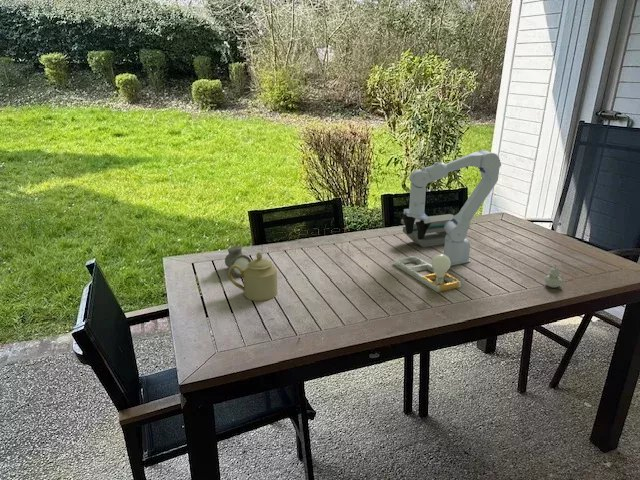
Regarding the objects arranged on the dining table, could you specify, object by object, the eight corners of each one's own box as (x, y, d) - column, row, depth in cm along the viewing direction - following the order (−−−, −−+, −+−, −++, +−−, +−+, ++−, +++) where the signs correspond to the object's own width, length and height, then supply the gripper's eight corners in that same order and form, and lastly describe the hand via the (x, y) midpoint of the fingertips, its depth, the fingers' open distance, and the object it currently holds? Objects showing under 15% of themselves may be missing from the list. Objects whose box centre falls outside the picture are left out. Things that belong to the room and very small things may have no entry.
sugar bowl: (241, 307, 140) (238, 263, 135) (228, 294, 149) (225, 252, 144) (283, 296, 148) (281, 253, 143) (269, 284, 157) (266, 244, 152)
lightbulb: (449, 288, 151) (452, 258, 148) (430, 287, 153) (432, 257, 149) (448, 281, 157) (450, 251, 154) (429, 279, 159) (432, 250, 155)
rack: (414, 260, 176) (415, 255, 176) (460, 287, 152) (461, 281, 152) (393, 264, 173) (393, 259, 172) (437, 292, 149) (437, 286, 148)
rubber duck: (539, 285, 153) (543, 264, 150) (550, 281, 156) (554, 260, 154) (555, 291, 148) (559, 269, 146) (566, 286, 152) (570, 264, 149)
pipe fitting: (254, 273, 165) (249, 247, 162) (234, 279, 161) (228, 253, 158) (243, 266, 175) (238, 241, 172) (224, 272, 171) (218, 247, 169)
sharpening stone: (448, 236, 204) (450, 213, 200) (458, 242, 197) (461, 218, 193) (399, 243, 196) (401, 219, 193) (408, 249, 189) (410, 224, 186)
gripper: (397, 199, 173) (396, 232, 177) (419, 207, 160) (417, 243, 164) (413, 197, 175) (411, 230, 180) (435, 205, 163) (432, 240, 167)
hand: (415, 236), depth 172 cm, fingers open, 7 cm apart
